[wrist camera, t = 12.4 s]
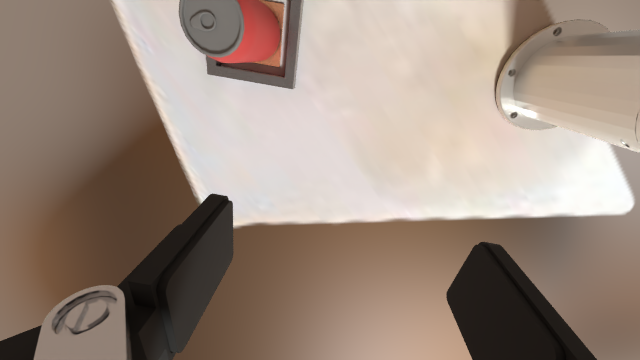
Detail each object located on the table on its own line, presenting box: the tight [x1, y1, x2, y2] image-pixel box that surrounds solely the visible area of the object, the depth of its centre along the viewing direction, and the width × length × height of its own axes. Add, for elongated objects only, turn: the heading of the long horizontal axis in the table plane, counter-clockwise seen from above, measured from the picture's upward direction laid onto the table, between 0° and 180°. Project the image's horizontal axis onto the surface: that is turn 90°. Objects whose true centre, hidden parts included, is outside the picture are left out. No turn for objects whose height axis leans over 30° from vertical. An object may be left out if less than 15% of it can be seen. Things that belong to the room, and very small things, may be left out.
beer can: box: [179, 0, 280, 63], centre depth 26 cm, size 7×7×12 cm
